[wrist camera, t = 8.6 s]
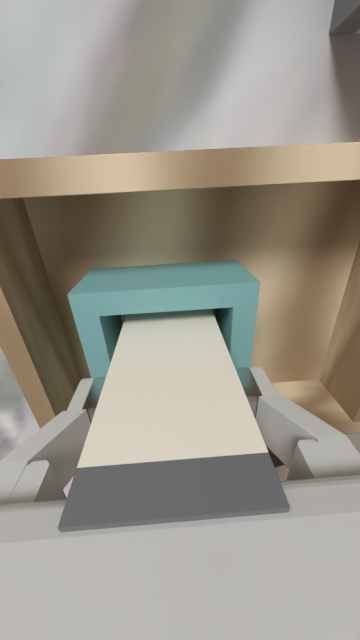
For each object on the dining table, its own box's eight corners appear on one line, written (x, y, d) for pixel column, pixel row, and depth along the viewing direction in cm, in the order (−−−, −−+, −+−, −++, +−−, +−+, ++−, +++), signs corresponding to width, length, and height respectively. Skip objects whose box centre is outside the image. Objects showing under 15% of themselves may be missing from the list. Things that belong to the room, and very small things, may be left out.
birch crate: (392, 154, 11) (508, 134, 7) (322, 381, 18) (365, 432, 14) (1, 173, 11) (-88, 163, 7) (78, 399, 17) (54, 457, 14)
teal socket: (236, 259, 12) (260, 282, 9) (229, 371, 16) (244, 414, 13) (92, 268, 12) (67, 294, 9) (117, 379, 16) (105, 426, 13)
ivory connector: (208, 300, 12) (290, 507, 4) (207, 363, 14) (263, 588, 6) (129, 306, 12) (57, 527, 4) (139, 368, 14) (104, 603, 6)
